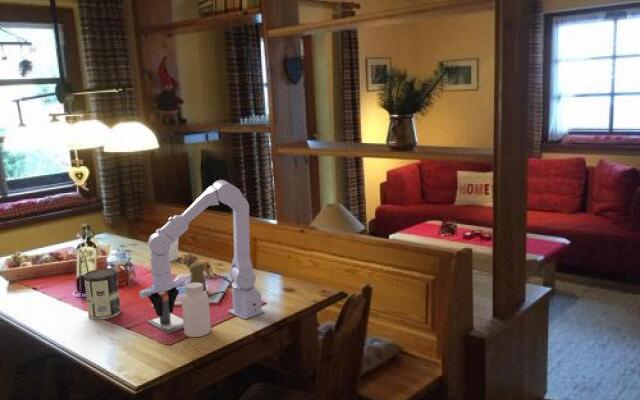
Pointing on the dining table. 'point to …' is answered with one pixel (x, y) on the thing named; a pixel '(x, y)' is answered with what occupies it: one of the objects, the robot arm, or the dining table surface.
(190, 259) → the lion figurine
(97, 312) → the coffee can
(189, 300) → the pill bottle
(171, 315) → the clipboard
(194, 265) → the brown upright piece
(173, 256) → the foam cup
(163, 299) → the marker
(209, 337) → the dining table surface
